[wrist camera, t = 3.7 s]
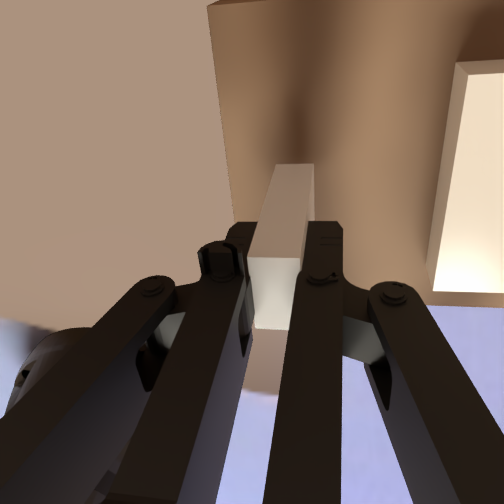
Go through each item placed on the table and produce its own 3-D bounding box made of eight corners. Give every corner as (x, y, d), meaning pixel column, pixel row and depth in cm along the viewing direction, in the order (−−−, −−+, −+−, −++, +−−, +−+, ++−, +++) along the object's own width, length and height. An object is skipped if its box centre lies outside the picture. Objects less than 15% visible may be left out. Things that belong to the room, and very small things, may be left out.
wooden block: (256, 257, 28) (244, 298, 24) (228, -4, 20) (206, 5, 17) (626, 263, 24) (672, 313, 21) (769, -55, 16) (878, -56, 13)
